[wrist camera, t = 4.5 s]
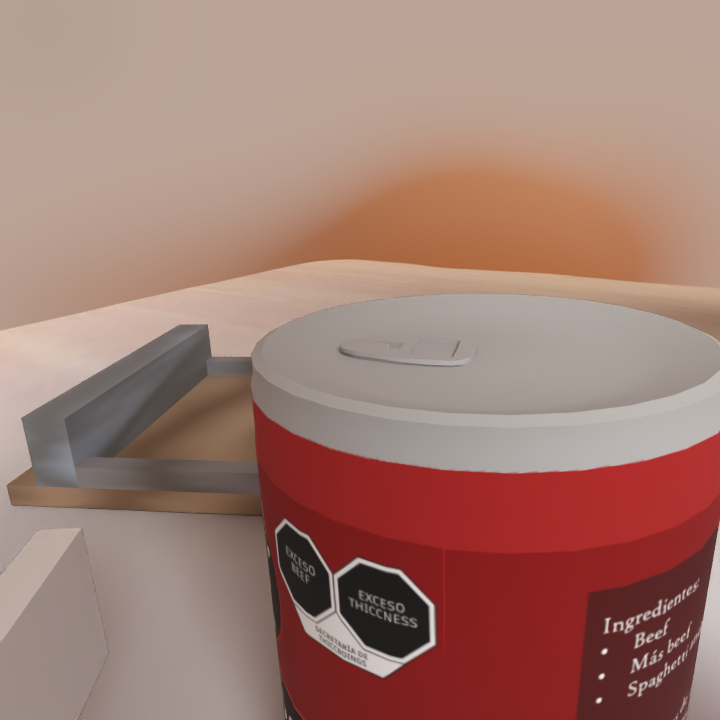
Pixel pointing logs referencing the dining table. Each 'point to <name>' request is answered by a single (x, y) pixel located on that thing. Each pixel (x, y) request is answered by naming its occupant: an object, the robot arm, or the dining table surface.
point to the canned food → (487, 507)
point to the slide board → (149, 435)
